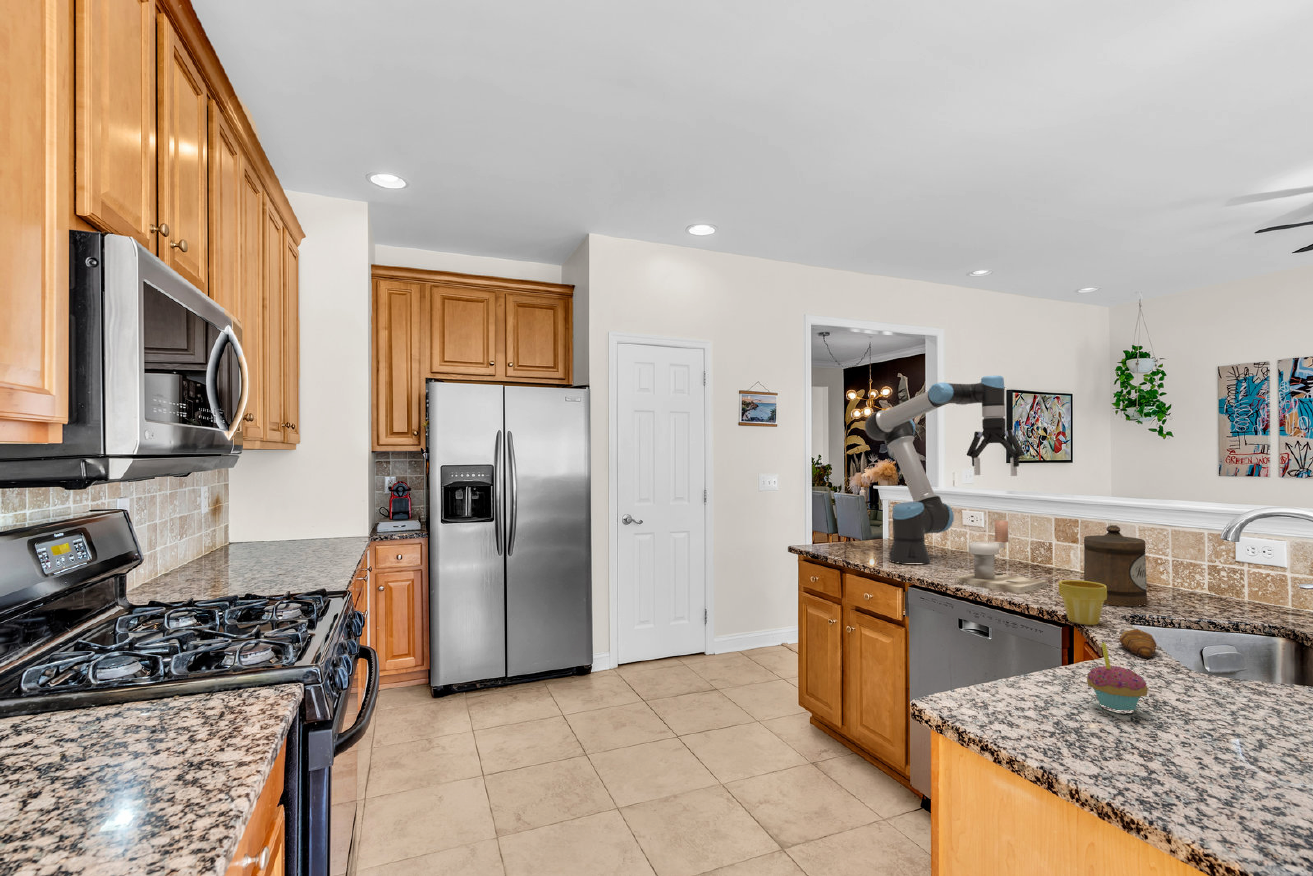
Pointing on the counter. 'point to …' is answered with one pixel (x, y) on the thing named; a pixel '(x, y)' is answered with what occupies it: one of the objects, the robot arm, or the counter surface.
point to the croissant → (1138, 642)
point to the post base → (998, 577)
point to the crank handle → (992, 547)
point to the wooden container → (1117, 566)
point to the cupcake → (1116, 685)
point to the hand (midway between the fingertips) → (995, 475)
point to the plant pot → (1083, 600)
